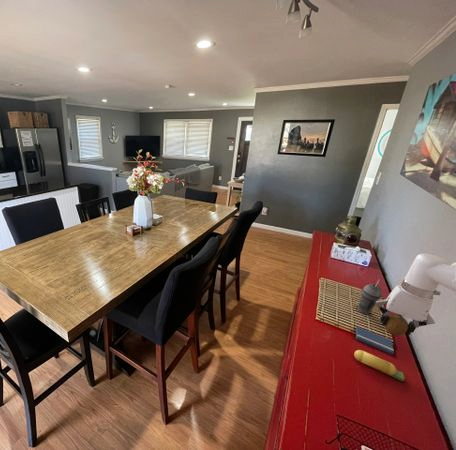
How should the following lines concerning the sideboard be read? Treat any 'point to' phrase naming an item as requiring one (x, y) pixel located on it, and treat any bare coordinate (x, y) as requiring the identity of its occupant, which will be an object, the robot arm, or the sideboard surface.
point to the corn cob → (378, 364)
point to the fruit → (396, 325)
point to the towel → (374, 340)
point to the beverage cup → (369, 297)
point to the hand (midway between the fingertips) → (394, 327)
